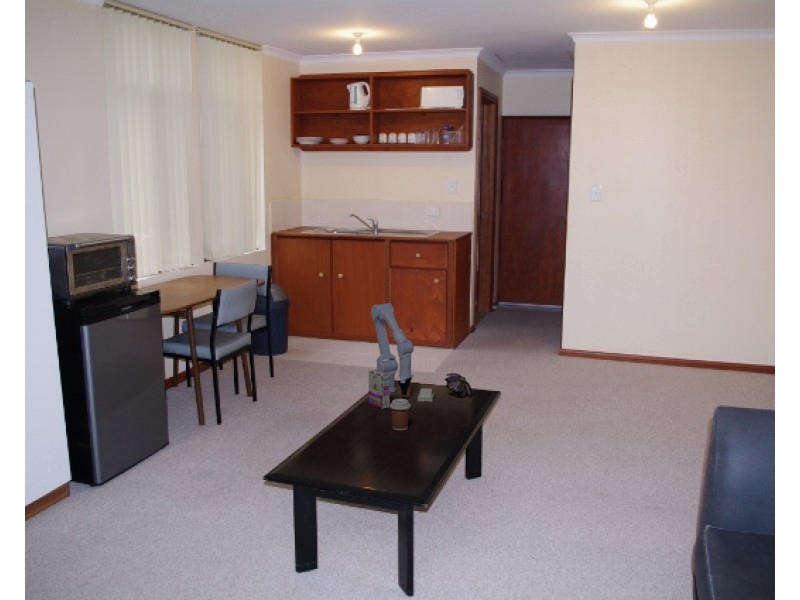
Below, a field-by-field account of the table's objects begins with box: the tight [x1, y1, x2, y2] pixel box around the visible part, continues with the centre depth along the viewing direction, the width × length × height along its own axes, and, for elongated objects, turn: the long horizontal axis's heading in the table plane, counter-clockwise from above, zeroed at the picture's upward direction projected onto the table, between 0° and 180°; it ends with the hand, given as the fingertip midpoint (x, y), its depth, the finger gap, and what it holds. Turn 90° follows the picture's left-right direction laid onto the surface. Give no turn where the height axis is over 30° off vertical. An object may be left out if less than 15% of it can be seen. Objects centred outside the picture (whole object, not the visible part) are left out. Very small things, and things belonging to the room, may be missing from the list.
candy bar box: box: [368, 369, 391, 410], centre depth 339 cm, size 11×5×16 cm, turn 37°
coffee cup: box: [389, 398, 412, 431], centre depth 310 cm, size 9×9×12 cm
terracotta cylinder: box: [400, 385, 411, 399], centre depth 352 cm, size 4×4×4 cm
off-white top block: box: [419, 387, 433, 397], centre depth 350 cm, size 6×6×2 cm
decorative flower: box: [444, 372, 473, 399], centre depth 356 cm, size 15×12×15 cm
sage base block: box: [417, 393, 435, 403], centre depth 350 cm, size 7×7×2 cm
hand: (405, 393), depth 352 cm, fingers closed on terracotta cylinder, 4 cm apart
